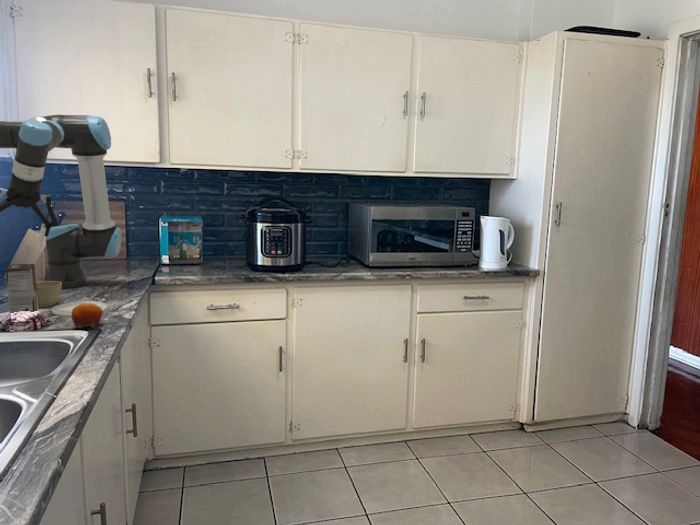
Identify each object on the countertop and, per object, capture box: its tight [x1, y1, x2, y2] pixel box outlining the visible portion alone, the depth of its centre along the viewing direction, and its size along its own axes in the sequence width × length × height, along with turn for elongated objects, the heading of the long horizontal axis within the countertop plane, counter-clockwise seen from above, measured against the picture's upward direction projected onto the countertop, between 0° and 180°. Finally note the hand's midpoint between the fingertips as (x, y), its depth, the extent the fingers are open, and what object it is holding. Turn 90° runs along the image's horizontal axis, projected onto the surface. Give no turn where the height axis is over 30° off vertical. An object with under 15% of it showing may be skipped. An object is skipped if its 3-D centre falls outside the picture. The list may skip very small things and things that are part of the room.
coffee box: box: [5, 263, 39, 314], centre depth 164 cm, size 9×6×16 cm
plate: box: [51, 300, 108, 318], centre depth 175 cm, size 16×16×1 cm
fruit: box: [71, 303, 103, 329], centre depth 157 cm, size 8×8×8 cm
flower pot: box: [36, 281, 62, 308], centre depth 181 cm, size 10×10×7 cm
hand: (13, 242), depth 159 cm, fingers open, 13 cm apart
